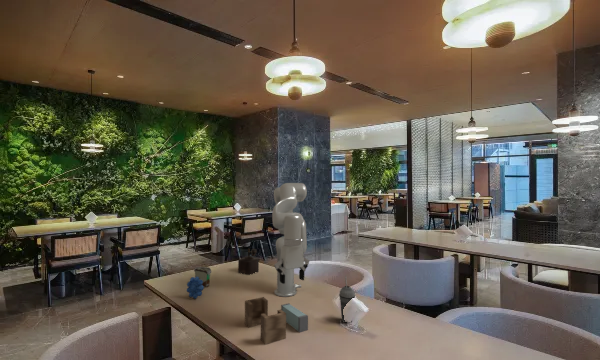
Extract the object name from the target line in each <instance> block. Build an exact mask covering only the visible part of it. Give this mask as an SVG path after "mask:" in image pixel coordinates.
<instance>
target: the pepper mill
mask: <svg viewBox="0 0 600 360" xmlns="http://www.w3.org/2000/svg"><path fill="white" fill-rule="evenodd" d="M250 250H251V251H250ZM257 252H258V250H257V249H256V248H252V249H250V248H247V255H245V256H244V257H242V258H239V259H238V261H237V263H238V264H237V268H238V271H237V273H238V274H241V273H242V275H246V276H251V275H253V273H254V274H256V273H255V272H257V273H259V267H260V265H259V263H260V262H259V261H260V260H259V259H260V258H256V255H257ZM250 254H251V255H250ZM250 274H251V275H250Z"/></svg>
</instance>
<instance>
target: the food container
mask: <svg viewBox="0 0 600 360" xmlns="http://www.w3.org/2000/svg"><path fill="white" fill-rule="evenodd" d="M193 272H194V278H195V277H199V280H202V281H203V283H202V285H203V286H204V288H208V287H209V286H210V281H211V274H212V269H211V267H207V266H198V267H195V268H194V271H193Z"/></svg>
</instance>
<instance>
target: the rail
mask: <svg viewBox="0 0 600 360" xmlns="http://www.w3.org/2000/svg"><path fill="white" fill-rule="evenodd" d="M280 308H281V309H280V310H282V311H283V312H285V313H286V324H288V325H289V326H291V327H292V328H293V329H295V331H297V332H298V333H304V332H306V331H308V330H309V315H308V314H306V313H304V312H302V311H301V310H300V309H298V308H296V306H293V305H292V304H290V303H289V302H288V303H284V304H281V305H280Z"/></svg>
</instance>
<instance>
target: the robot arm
mask: <svg viewBox="0 0 600 360" xmlns="http://www.w3.org/2000/svg"><path fill="white" fill-rule="evenodd" d="M307 192H308V191H307V187H306V184H304V183H303V182H286V183H282V185H280V187H279V186H278V187H276V188H275V189H274V191H273V199H274V203H275V205H274V206H273V209H272V215H271V216H272V226H273V227H274V228H275V229H277V230H278V232H279V234H281V235H283V236H281V237H279V238H277V239H276V241H275V249H276V261H277V262H276V263H274V264H273V265H274V268H275V270H276V274H277V276H276V278H277V279H276V280H277V281H276V282H277V283H276V289H274V291H273V293H274V295H275V296H279V297H285V298H287V297H292V296H296V294H297V293H298V292H297V289H300V288H302V284H301V283H299V284H297V283H295V270H296V269H299V270H298V274H299V277H298V278H299V280H301V281H305V272H306V270H307V268H308V267H309V263H310V259H308V258H305V257H304V256H305V254H304V253H306V252H307V249H308V248H307V247H308V246H307V245H308V243H307V239H308V238H307V226H306V225H307V223H306V220H305V219H304V216H303V215H302V213H299V212H294V209H296V207H297V205H298V203H300V202H303V201H304V200H305V199H306V197H307V195H308V194H307Z"/></svg>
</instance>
